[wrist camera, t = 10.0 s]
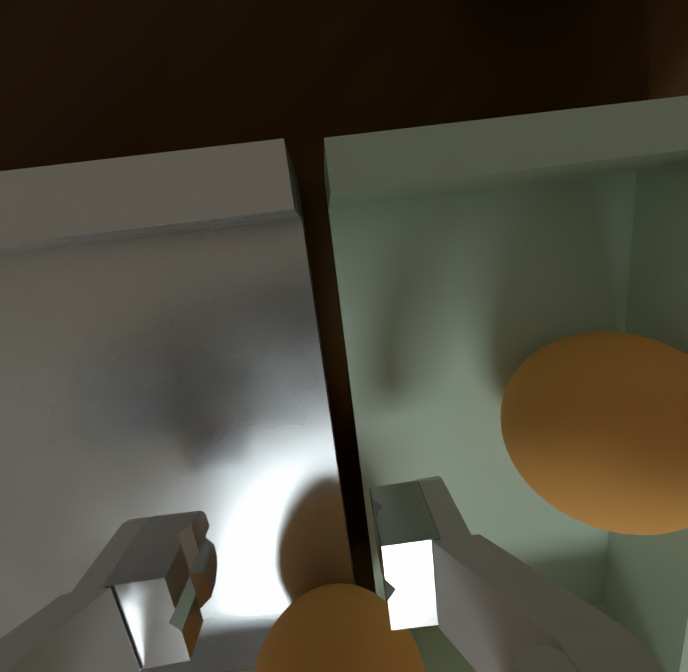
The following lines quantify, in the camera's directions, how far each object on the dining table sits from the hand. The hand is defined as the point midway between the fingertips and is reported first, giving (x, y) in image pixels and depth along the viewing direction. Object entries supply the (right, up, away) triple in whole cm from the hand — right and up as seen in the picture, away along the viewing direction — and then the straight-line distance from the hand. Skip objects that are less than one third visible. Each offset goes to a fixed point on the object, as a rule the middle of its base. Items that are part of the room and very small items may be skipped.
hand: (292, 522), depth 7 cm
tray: (+5, +1, +3) cm, 6 cm away
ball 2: (+7, +2, 0) cm, 7 cm away
